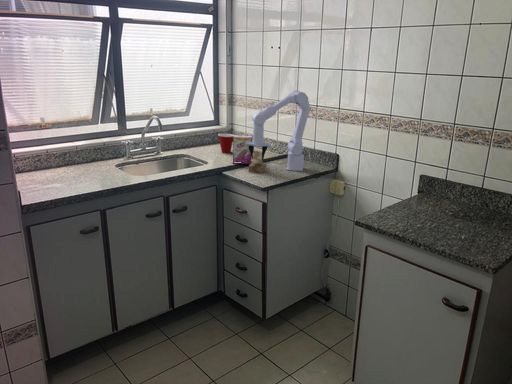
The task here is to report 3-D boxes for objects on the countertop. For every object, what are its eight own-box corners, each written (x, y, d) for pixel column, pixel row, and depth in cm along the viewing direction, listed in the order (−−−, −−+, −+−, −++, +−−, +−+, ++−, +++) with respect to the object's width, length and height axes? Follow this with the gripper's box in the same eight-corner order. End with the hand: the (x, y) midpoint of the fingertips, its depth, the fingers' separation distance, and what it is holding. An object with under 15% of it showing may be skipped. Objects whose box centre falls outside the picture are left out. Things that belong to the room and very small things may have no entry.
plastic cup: (237, 151, 274) (237, 133, 270) (228, 155, 266) (228, 136, 262) (224, 149, 280) (224, 131, 276) (214, 152, 271) (214, 134, 267)
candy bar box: (232, 163, 248) (232, 136, 242) (233, 161, 252) (234, 135, 247) (251, 164, 247) (251, 137, 241) (252, 162, 251) (252, 135, 246)
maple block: (262, 161, 236) (262, 151, 234) (261, 163, 231) (261, 153, 229) (253, 160, 237) (254, 150, 235) (252, 163, 232) (252, 152, 230)
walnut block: (266, 169, 239) (266, 163, 237) (262, 173, 231) (262, 167, 230) (252, 168, 241) (252, 161, 239) (248, 172, 233) (248, 165, 232)
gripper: (244, 136, 226) (243, 160, 231) (270, 137, 224) (269, 161, 229) (246, 133, 233) (246, 157, 237) (272, 135, 231) (271, 158, 235)
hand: (257, 159), depth 234 cm, fingers closed on maple block, 5 cm apart
